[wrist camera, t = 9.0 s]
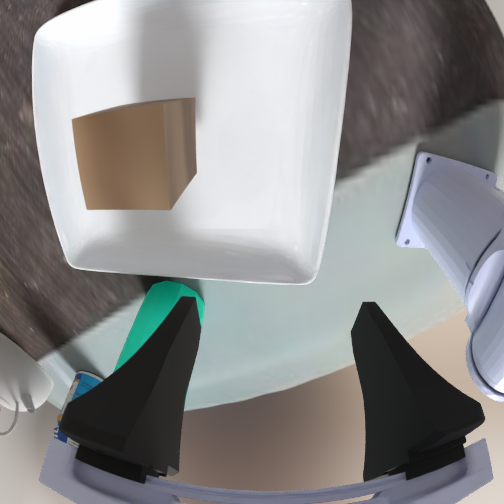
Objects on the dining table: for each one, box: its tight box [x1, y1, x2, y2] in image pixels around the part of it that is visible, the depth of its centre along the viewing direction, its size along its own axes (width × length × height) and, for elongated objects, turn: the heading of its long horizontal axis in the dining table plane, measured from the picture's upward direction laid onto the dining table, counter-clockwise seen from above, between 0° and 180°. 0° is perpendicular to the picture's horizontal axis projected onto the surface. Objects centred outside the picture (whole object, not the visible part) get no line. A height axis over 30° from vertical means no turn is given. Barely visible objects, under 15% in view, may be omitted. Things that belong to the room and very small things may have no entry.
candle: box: [113, 281, 204, 400], centre depth 21 cm, size 6×6×12 cm
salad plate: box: [32, 0, 352, 285], centre depth 16 cm, size 21×21×3 cm
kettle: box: [0, 333, 54, 436], centre depth 34 cm, size 25×23×23 cm
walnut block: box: [72, 97, 197, 210], centre depth 12 cm, size 4×4×5 cm
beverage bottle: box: [54, 371, 103, 449], centre depth 32 cm, size 8×8×20 cm
